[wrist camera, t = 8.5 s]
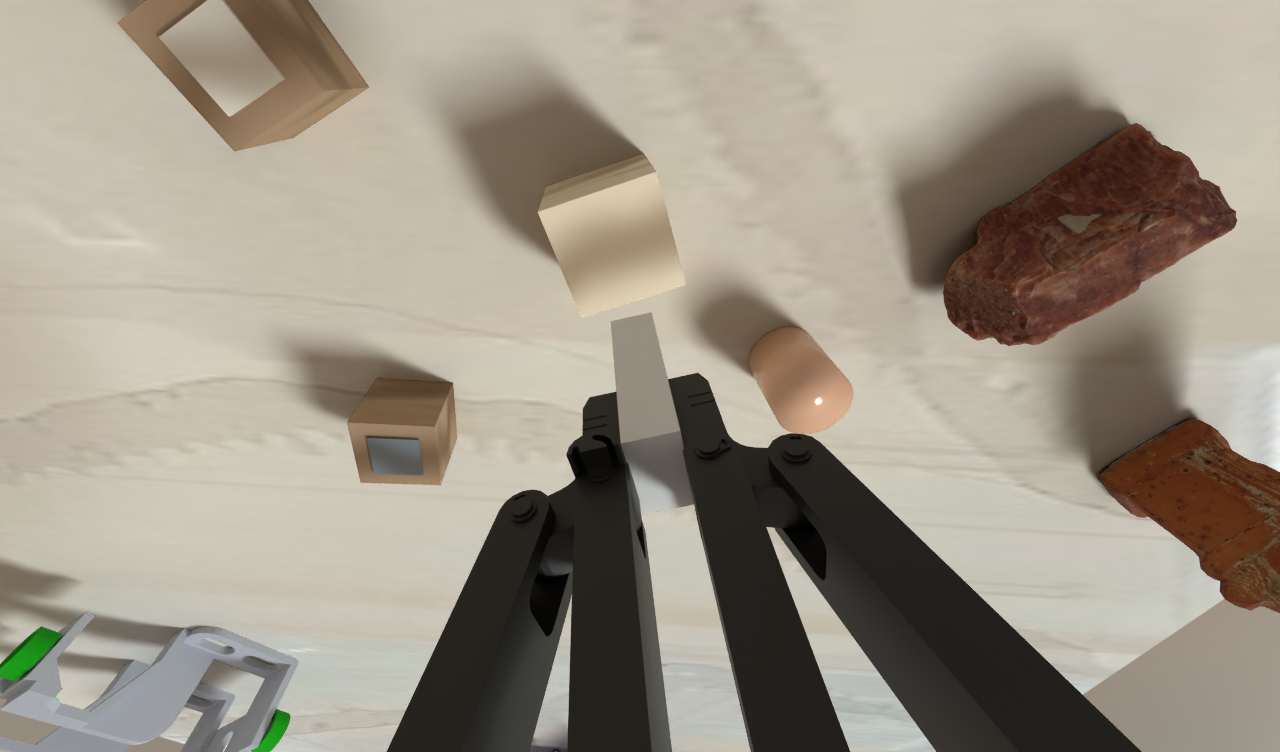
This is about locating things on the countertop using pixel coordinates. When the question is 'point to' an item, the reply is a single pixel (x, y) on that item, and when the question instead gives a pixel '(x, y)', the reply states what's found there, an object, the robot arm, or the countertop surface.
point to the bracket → (147, 694)
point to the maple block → (612, 235)
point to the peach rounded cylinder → (799, 381)
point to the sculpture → (1208, 507)
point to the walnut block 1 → (247, 63)
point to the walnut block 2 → (404, 432)
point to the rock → (1083, 240)
